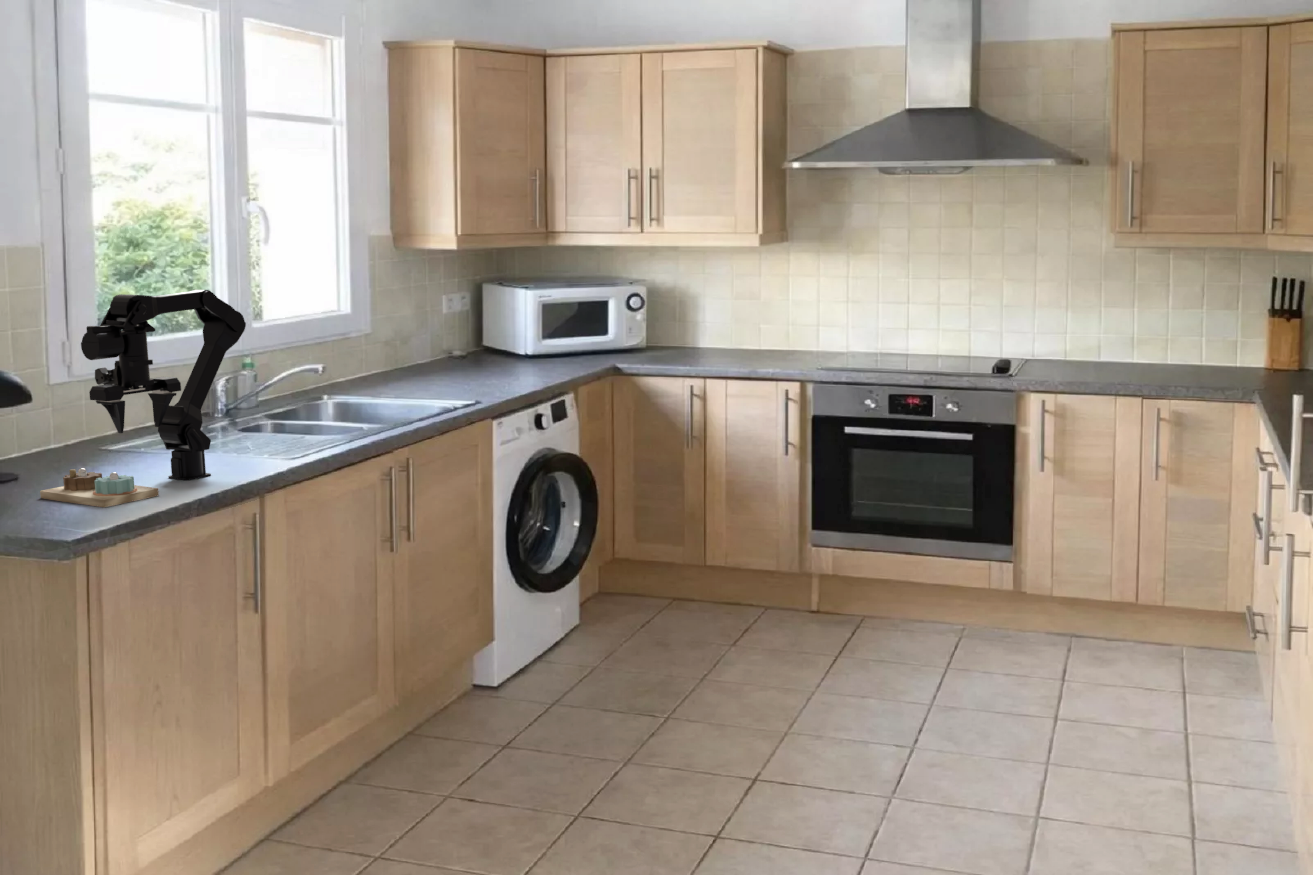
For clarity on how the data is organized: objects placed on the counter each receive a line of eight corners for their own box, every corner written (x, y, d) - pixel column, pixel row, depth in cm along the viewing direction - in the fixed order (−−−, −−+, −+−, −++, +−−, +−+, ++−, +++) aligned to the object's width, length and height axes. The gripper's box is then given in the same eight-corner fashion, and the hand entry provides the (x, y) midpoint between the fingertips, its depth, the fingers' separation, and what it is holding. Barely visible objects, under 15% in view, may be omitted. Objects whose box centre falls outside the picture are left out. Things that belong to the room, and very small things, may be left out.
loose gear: (118, 486, 292) (117, 474, 292) (141, 489, 289) (140, 477, 288) (88, 492, 286) (87, 480, 286) (111, 495, 283) (110, 483, 282)
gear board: (95, 486, 301) (95, 478, 301) (158, 495, 291) (158, 487, 290) (40, 498, 290) (40, 489, 290) (104, 507, 280) (103, 498, 279)
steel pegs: (84, 486, 294) (82, 467, 293) (121, 491, 288) (119, 471, 287) (77, 487, 293) (76, 468, 292) (114, 492, 286) (112, 473, 286)
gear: (87, 482, 298) (85, 463, 297) (109, 485, 294) (108, 466, 293) (57, 488, 292) (55, 469, 291) (79, 492, 288) (77, 472, 287)
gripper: (145, 349, 308) (150, 421, 311) (69, 358, 293) (75, 433, 295) (180, 351, 302) (185, 424, 305) (104, 360, 287) (110, 437, 289)
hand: (139, 429), depth 299 cm, fingers open, 9 cm apart
